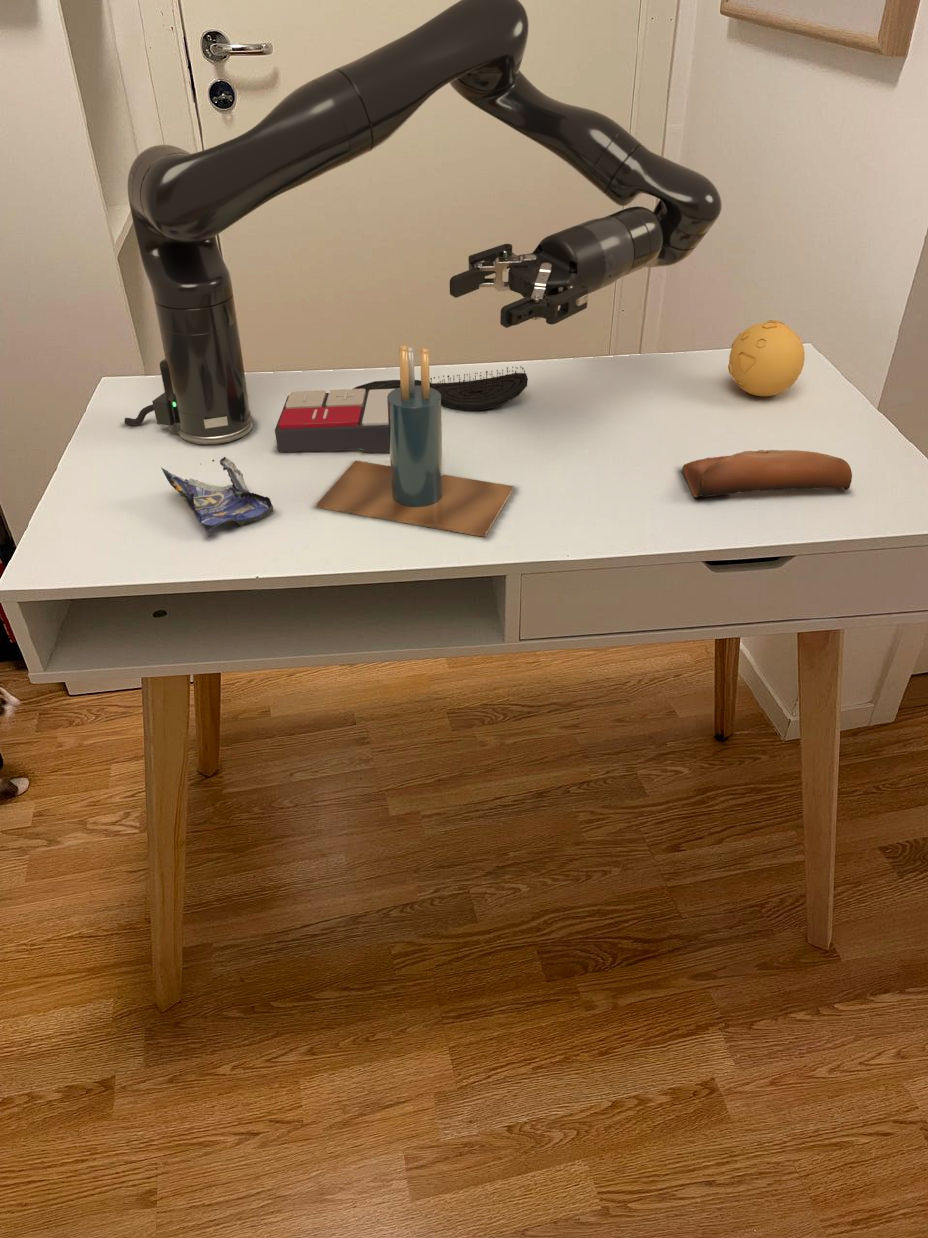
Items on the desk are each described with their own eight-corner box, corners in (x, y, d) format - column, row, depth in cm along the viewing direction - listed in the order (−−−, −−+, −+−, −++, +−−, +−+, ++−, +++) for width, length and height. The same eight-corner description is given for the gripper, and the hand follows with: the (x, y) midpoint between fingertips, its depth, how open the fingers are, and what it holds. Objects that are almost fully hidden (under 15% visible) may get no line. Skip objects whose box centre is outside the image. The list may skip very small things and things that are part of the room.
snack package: (268, 479, 115) (167, 487, 112) (264, 434, 110) (158, 441, 108) (277, 546, 107) (168, 556, 104) (273, 501, 102) (159, 510, 100)
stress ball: (790, 380, 138) (805, 311, 132) (801, 410, 130) (818, 337, 124) (719, 377, 139) (731, 308, 133) (726, 406, 131) (739, 334, 125)
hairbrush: (346, 367, 134) (526, 358, 134) (349, 392, 136) (526, 383, 136) (340, 392, 128) (529, 382, 127) (344, 417, 130) (530, 408, 129)
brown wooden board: (316, 507, 109) (316, 503, 109) (355, 463, 117) (355, 460, 117) (485, 537, 104) (485, 533, 104) (513, 489, 112) (513, 485, 112)
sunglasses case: (820, 457, 118) (843, 426, 112) (834, 507, 115) (858, 479, 109) (677, 464, 116) (692, 433, 110) (687, 516, 114) (703, 487, 107)
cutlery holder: (381, 493, 111) (373, 341, 100) (420, 477, 114) (416, 328, 103) (413, 512, 107) (408, 357, 96) (453, 495, 110) (451, 343, 100)
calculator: (286, 388, 126) (400, 383, 126) (292, 418, 129) (403, 414, 128) (272, 425, 118) (395, 420, 117) (278, 457, 120) (398, 452, 120)
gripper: (625, 312, 110) (518, 361, 103) (541, 267, 117) (436, 309, 110) (633, 248, 104) (521, 295, 97) (544, 205, 112) (434, 246, 105)
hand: (476, 302), depth 104 cm, fingers open, 8 cm apart
